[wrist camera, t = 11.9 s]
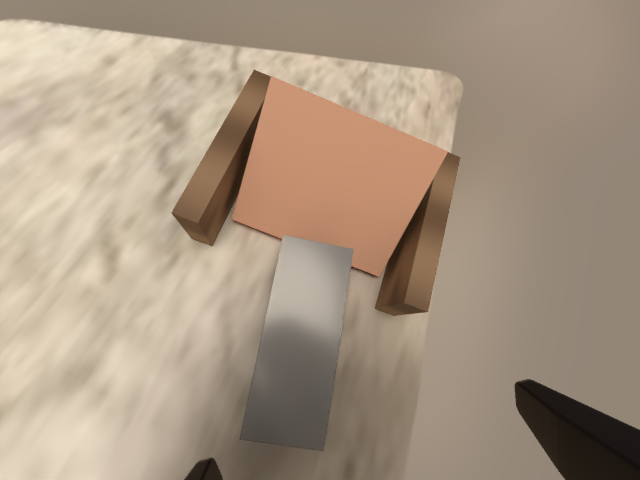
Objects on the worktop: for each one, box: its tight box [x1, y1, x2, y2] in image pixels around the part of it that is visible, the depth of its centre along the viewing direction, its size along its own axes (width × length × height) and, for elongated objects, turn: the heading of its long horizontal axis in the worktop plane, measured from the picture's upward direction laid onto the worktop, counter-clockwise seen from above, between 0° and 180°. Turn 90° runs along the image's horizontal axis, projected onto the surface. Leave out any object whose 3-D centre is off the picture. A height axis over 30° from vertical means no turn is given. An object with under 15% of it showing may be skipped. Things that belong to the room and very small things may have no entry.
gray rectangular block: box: [240, 235, 354, 451], centre depth 19 cm, size 4×4×11 cm
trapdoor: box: [232, 76, 448, 277], centre depth 22 cm, size 10×12×4 cm
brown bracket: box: [172, 70, 460, 316], centre depth 22 cm, size 12×16×5 cm
